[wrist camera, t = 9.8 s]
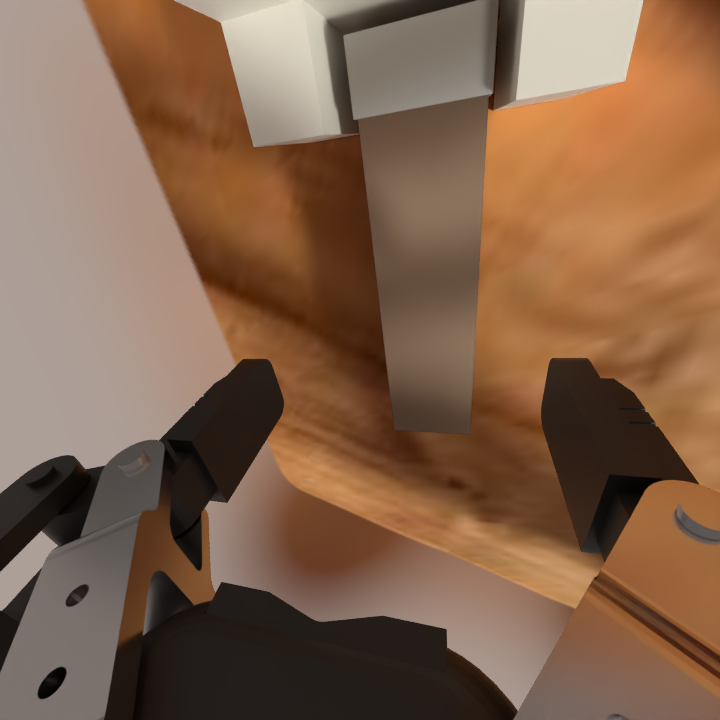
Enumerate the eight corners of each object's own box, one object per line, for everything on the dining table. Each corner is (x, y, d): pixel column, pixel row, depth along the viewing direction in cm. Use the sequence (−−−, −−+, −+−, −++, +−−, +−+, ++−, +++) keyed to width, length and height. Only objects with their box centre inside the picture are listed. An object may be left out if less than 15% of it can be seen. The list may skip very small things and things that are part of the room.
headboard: (561, 99, 13) (715, 54, 5) (313, 142, 16) (185, 152, 8) (588, -85, 11) (943, -638, 3) (289, 4, 13) (71, -165, 6)
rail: (468, 377, 21) (472, 437, 17) (403, 376, 22) (391, 432, 18) (483, 39, 13) (499, -6, 8) (376, 64, 14) (343, 35, 10)
